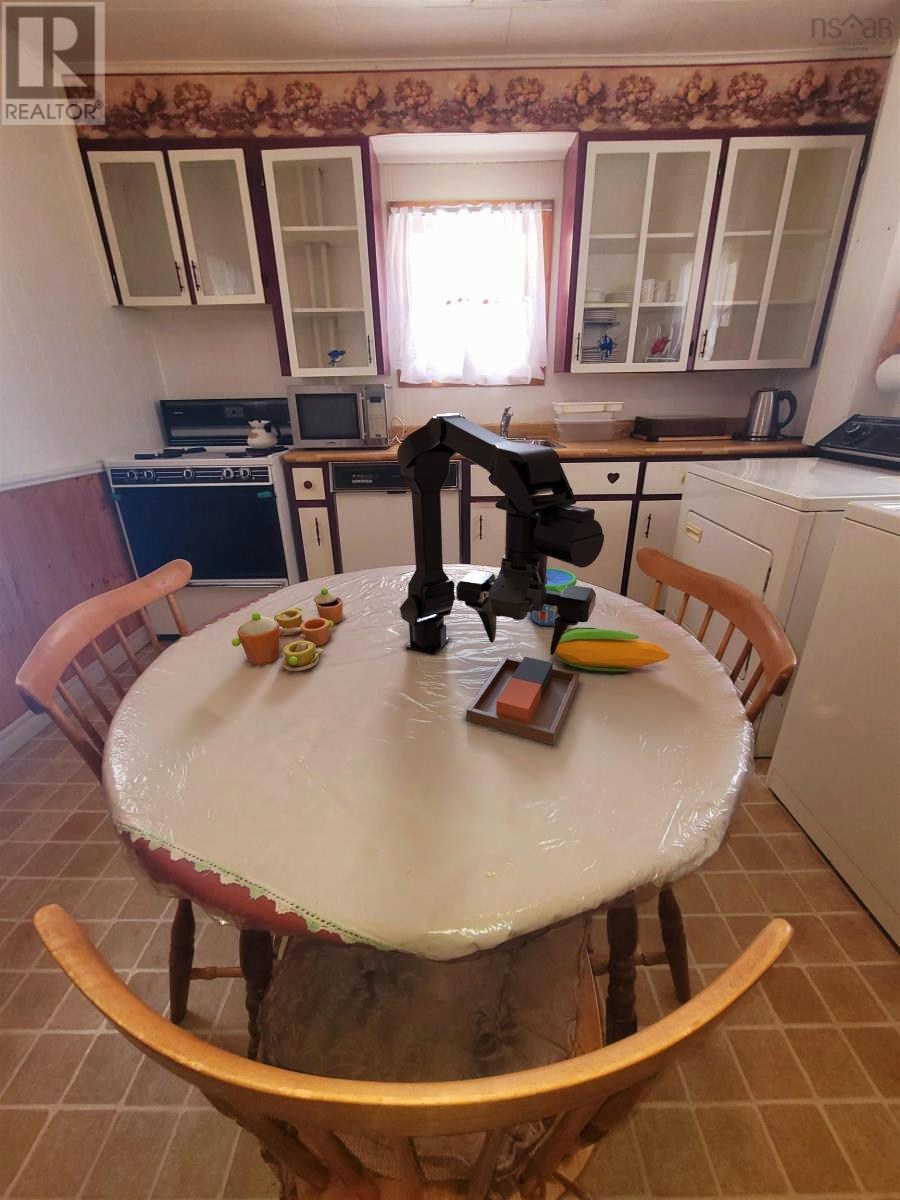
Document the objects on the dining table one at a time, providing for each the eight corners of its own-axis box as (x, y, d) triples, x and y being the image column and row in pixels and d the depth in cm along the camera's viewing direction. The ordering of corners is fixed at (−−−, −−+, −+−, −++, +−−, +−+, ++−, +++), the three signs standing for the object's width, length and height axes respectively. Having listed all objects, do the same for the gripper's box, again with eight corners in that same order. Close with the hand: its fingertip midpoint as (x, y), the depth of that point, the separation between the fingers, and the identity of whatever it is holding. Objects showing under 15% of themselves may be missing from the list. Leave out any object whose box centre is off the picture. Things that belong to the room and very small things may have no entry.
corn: (554, 617, 89) (668, 622, 86) (551, 651, 93) (660, 657, 90) (555, 638, 83) (678, 646, 80) (552, 674, 86) (670, 682, 83)
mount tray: (466, 720, 75) (466, 709, 74) (503, 666, 89) (504, 656, 88) (553, 745, 69) (554, 734, 69) (578, 683, 83) (579, 672, 82)
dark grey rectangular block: (510, 694, 80) (511, 677, 78) (523, 672, 86) (524, 656, 84) (540, 701, 78) (541, 684, 76) (551, 679, 84) (553, 662, 82)
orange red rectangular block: (495, 719, 74) (496, 701, 73) (510, 694, 80) (511, 677, 78) (527, 727, 72) (528, 709, 71) (540, 701, 78) (541, 684, 76)
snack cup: (512, 607, 111) (513, 565, 107) (555, 602, 113) (558, 561, 109) (538, 639, 97) (541, 593, 93) (586, 633, 99) (591, 587, 95)
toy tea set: (312, 677, 87) (304, 630, 83) (230, 673, 88) (219, 626, 84) (354, 613, 110) (350, 574, 106) (290, 611, 112) (283, 572, 108)
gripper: (437, 556, 62) (440, 660, 68) (584, 576, 54) (573, 691, 61) (471, 532, 71) (471, 626, 77) (602, 547, 64) (590, 650, 70)
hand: (521, 647), depth 71 cm, fingers open, 9 cm apart
